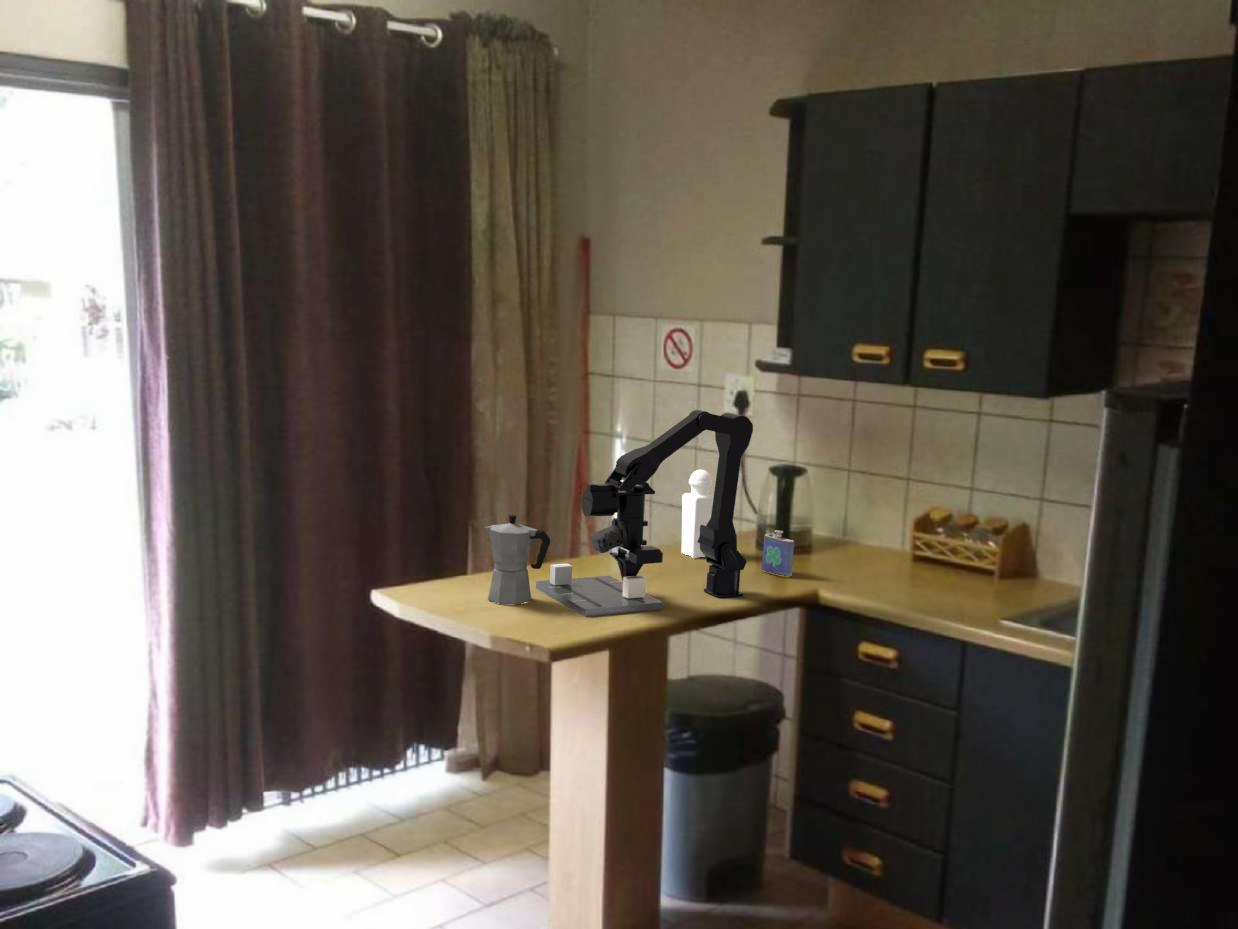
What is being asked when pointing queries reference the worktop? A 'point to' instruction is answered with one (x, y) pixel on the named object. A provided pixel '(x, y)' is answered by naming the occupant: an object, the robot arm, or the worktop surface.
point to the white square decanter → (696, 512)
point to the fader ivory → (634, 586)
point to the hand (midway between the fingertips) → (626, 587)
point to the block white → (560, 574)
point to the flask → (777, 554)
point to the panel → (598, 596)
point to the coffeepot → (513, 560)
